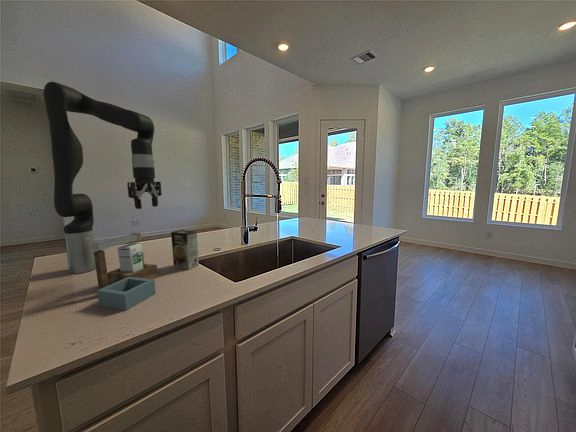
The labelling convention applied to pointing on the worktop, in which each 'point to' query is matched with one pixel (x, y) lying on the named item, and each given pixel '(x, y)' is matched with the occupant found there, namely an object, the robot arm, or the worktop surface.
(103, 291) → the blue-grey hollow box
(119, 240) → the bar
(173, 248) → the coffee box
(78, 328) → the worktop surface
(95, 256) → the socket block
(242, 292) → the worktop surface
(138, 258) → the syrup box
